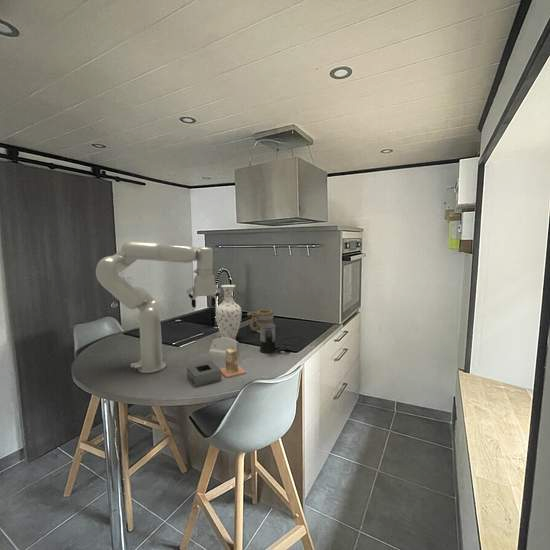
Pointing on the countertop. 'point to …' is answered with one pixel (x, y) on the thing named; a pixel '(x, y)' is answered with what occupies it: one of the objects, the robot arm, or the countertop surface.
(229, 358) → the peg
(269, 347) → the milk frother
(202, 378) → the grey slotted holder
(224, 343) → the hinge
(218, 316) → the vase
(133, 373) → the countertop surface
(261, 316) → the tankard
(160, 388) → the countertop surface
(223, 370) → the mat
